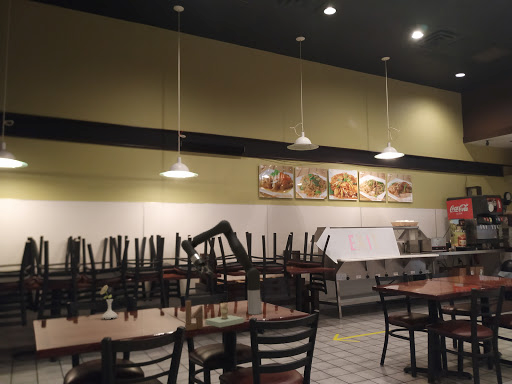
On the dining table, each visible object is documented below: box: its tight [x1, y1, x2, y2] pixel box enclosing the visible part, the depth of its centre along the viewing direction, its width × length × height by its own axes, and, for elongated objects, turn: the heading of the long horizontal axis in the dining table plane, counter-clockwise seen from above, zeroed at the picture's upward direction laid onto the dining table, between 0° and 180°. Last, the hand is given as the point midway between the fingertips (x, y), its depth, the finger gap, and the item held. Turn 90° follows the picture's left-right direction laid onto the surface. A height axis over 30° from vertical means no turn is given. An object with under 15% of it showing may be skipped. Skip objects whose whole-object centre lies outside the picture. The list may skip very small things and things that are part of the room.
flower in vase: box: [99, 284, 119, 320], centre depth 313 cm, size 13×11×25 cm
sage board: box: [205, 314, 245, 328], centre depth 281 cm, size 20×16×3 cm
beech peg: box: [219, 302, 229, 320], centre depth 282 cm, size 5×5×13 cm
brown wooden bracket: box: [184, 299, 204, 332], centre depth 267 cm, size 4×11×18 cm, turn 113°
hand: (209, 277), depth 301 cm, fingers open, 8 cm apart
